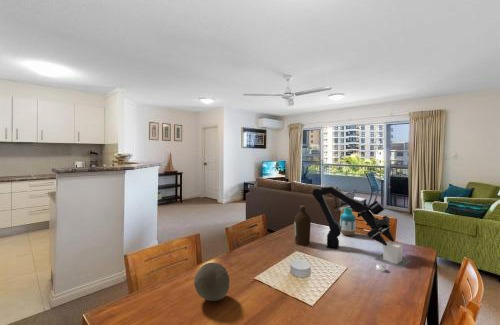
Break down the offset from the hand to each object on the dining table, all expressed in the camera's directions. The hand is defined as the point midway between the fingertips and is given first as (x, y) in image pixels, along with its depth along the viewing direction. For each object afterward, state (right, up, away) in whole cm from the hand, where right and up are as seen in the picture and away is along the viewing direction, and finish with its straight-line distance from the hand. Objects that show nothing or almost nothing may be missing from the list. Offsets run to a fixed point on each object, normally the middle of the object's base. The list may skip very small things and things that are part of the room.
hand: (390, 243), depth 139 cm
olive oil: (-44, -8, +26) cm, 51 cm away
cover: (+1, -9, -1) cm, 9 cm away
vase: (-8, -7, +41) cm, 42 cm away
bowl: (-12, -10, -12) cm, 20 cm away
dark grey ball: (-94, -12, -36) cm, 101 cm away
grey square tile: (+1, -9, -1) cm, 9 cm away
